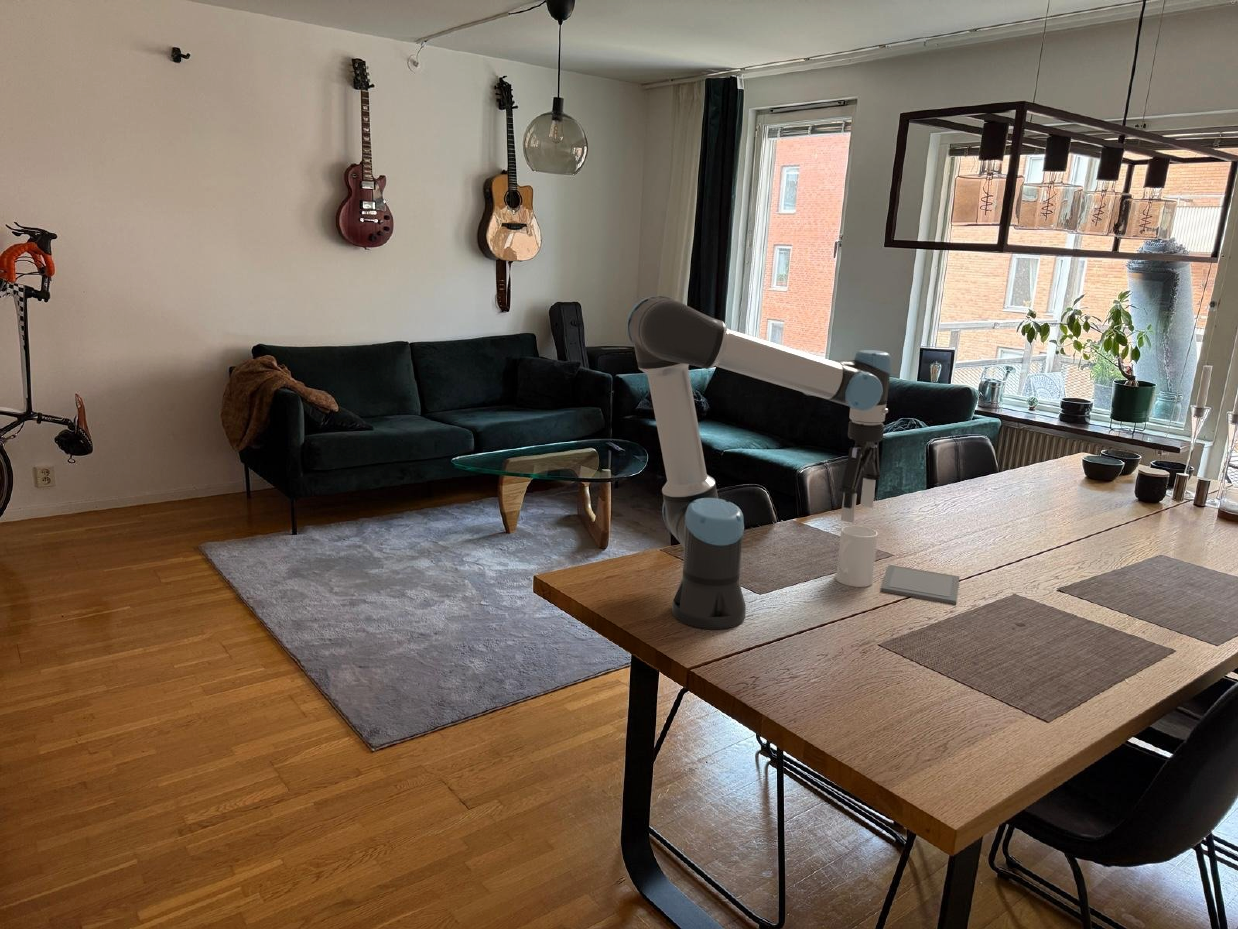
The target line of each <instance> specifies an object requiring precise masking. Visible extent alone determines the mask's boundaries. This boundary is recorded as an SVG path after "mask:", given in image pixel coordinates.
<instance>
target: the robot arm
mask: <svg viewBox="0 0 1238 929" xmlns="http://www.w3.org/2000/svg"><path fill="white" fill-rule="evenodd" d="M626 331H627V332H626V333H627V336H628V338H629V340H630V342H631V343H632V344H633V346H634V351H635V357H636V362H637V366H638V369H639V370H640V371H642V373H645V374H646V376H647V382H648V386H649V391H650V395H651V396H650V397H651V402H652V407H653V413H654V418H655V423H656V428H657V433H658V439H659V444H660V449H661V453H662V454H661V455H662V461H663V466H664V470H665V476H666V482H665V484H664V485H663V486H662V489H661V493H662V497H663V498H662V499H663V503H662V508H661V509H662V511H661V512H662V513H661V514H662V519H663V521H664V525H665V526H666V528H667V530H668V531H669V533H670V534H672V535H673V536H674V538H675V539H676V540H677V541H678V542H679V543H680V545H681V546H682V548H683V559H682V560H683V564H682V577H681V580H680V582H679V584H678V586H677V588H676V592H675V595H674V597H673V600H672V605H671V606H672V607H671V612H672V616H674V618H675V619H676V620H678V621H679V622H680V623H683V624H685V625H687V626H690V627H694V628H699V629H706V630H723V629H731V628H733V627H737V626H738V625H741V624H742V623H743V622H744V620H745V619H746V613H747V612H746V609H747V607H746V602H745V598H744V595H743V591H742V586H741V583H740V578H741V577H740V576H741V575H740V574H741V573H740V572H741V562H742V550H743V539H744V538H743V537H744V533H745V524H744V514H743V512H742V510H741V509H740V507H739V506H737V505H736V504H734V503H733V502H731V501H726V500H725V499H721V498H719V496H718V491H717V485H716V483H717V482H716V480H715V479H714V477H712V476H710V475H708V474H707V468H706V462H705V457H704V451H703V445H702V440H701V434H700V433H701V432H700V428H699V423H698V416H697V409H696V406H695V399H694V393H693V389H692V388H693V387H692V383H691V377H690V370H689V366H695V367H698V368H701V369H704V370H709V369H712V368H714V367H717V368H721V369H724V370H727V371H731V372H734V373H737V374H741V375H744V376H748V377H751V378H753V379H757V380H761V381H764V382H768V383H771V384H774V385H778V386H781V387H785V388H788V389H790V390H791V389H792V390H795V391H799V392H801V393H802V394H804V395H806V396H814V397H818V398H822V399H825V400H828V401H829V402H830V401H831V402H834V403H837V404H840V405H844V406H847V407H849V419H850V421H849V422H848V428H847V429H848V430H847V438H849V439H850V440H854V442H855V443H854V446H853V447H851V446H850V447H849V448H848V456H847V461H846V465H845V469H844V474H843V478H842V482H841V485H840V488H839V492H840V493H843V497H842V505H841V513H840V514H841V516H840V521H843V522H846V523H854V522H855V517H856V516H855V514H856V505H857V498H858V497H857V496H858V494H857V493H856V492H857V488H858V485H859V482H860V479H861V476H862V472H863V473H864V477H863V479H862V486H861V494H860V506H861V507H867V508H870V509H872V508H873V507H874V501H875V498H874V497H875V490H876V489H875V488H876V483H877V482H876V481H877V480H880V478H881V475H880V473H881V472H880V453H879V445H880V444H879V443H880V442H881V441H882V440H883V439H884V432H885V430H884V429H885V425H884V423H883V422H885V420H886V414H888V413H889V408H887V402H888V394H889V387H890V386H889V385H890V378H891V376H890V375H891V374H892V373H891V368H892V366H891V365H892V363H891V362H892V356H891V354H890V353H888V352H887V351H883V350H882V351H881V350H874V349H872V350H871V349H864V350H862V349H861V350H858V351H856V353H855V357H854V359H851V360H850V359H849V360H829V359H826V358H823V357H820V356H817V355H815V354H810V353H807V352H804V351H800V350H798V349H794V348H791V347H788V346H785V345H782V344H780V343H779V344H778V343H775V342H772V341H768V340H765V339H762V338H760V337H756V336H754V335H750V334H746V333H744V332H740V331H738V330H733V329H731V328H727V326H726V324H725V322H724V321H723V320H719V319H717V318H714V317H711V316H709V315H707V314H705V313H702V312H700V311H698V310H696V309H694V308H692V307H691V306H688V305H687V304H685V303H683V302H681V301H678V300H673V299H672V298H670V297H668V296H663V295H656V296H655V295H654V296H653V295H652V296H647V297H646V298H643V299H641V300H639V301H638V302H637V303H636V304H634V306H633V307H632V308H631V310H630V311H629V313H628V316H627V319H626Z"/></svg>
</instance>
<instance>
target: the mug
mask: <svg viewBox="0 0 1238 929" xmlns="http://www.w3.org/2000/svg"><path fill="white" fill-rule="evenodd" d="M877 543H878V531H877V530H875V529H873V528H871V527H867V526H863V525H862V526H861V525H846V526H844V527H842V528H841V530H840V539H839V549H838V556H837V568H836V574H835V576H834V578H835V580H836V581H837V583H840V584H842V585H845V586H849V587H853V588H854V587H855V588H865V587H870V586H872V585H873V584H874V569H875V568H874V567H875V562H876V553H877Z"/></svg>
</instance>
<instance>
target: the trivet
mask: <svg viewBox="0 0 1238 929" xmlns="http://www.w3.org/2000/svg"><path fill="white" fill-rule="evenodd" d="M959 582H960V576H959V575H953V574H948V573H941V572H935V571H929V570H923V569H917V568H912V567H907V566H899V565H893V564H888V566H887V569H886V572H885V575H884V578H883V581H882V584H881V586H880V592H884V593H890V594H895V595H901V596H905V597H912V598H918V599H922V600H923V599H924V600H928V601H934V602H942V603H946V604H950V605H951V604H952V605H956V604H957V599H958V592H959Z"/></svg>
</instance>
